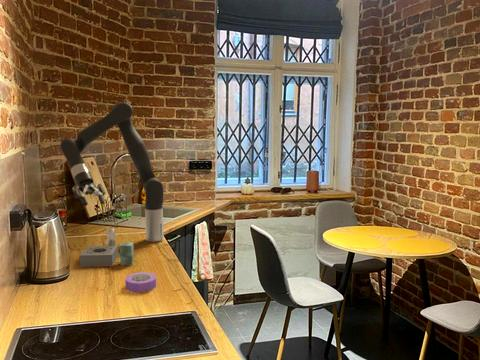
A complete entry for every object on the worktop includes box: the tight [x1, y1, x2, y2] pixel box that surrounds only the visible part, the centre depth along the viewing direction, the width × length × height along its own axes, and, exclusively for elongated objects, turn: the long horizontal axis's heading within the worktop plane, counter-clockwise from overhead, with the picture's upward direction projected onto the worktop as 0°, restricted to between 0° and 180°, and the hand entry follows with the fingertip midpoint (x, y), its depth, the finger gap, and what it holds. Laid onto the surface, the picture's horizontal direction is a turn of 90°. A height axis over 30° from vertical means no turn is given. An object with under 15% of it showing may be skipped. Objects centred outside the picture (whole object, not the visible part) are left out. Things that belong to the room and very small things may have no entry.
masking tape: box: [124, 271, 157, 293], centre depth 170 cm, size 12×12×4 cm
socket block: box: [79, 245, 119, 267], centre depth 199 cm, size 14×14×5 cm
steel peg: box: [106, 227, 117, 246], centre depth 215 cm, size 4×4×11 cm
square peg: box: [119, 241, 135, 266], centre depth 196 cm, size 5×5×9 cm
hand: (94, 204), depth 197 cm, fingers open, 8 cm apart
